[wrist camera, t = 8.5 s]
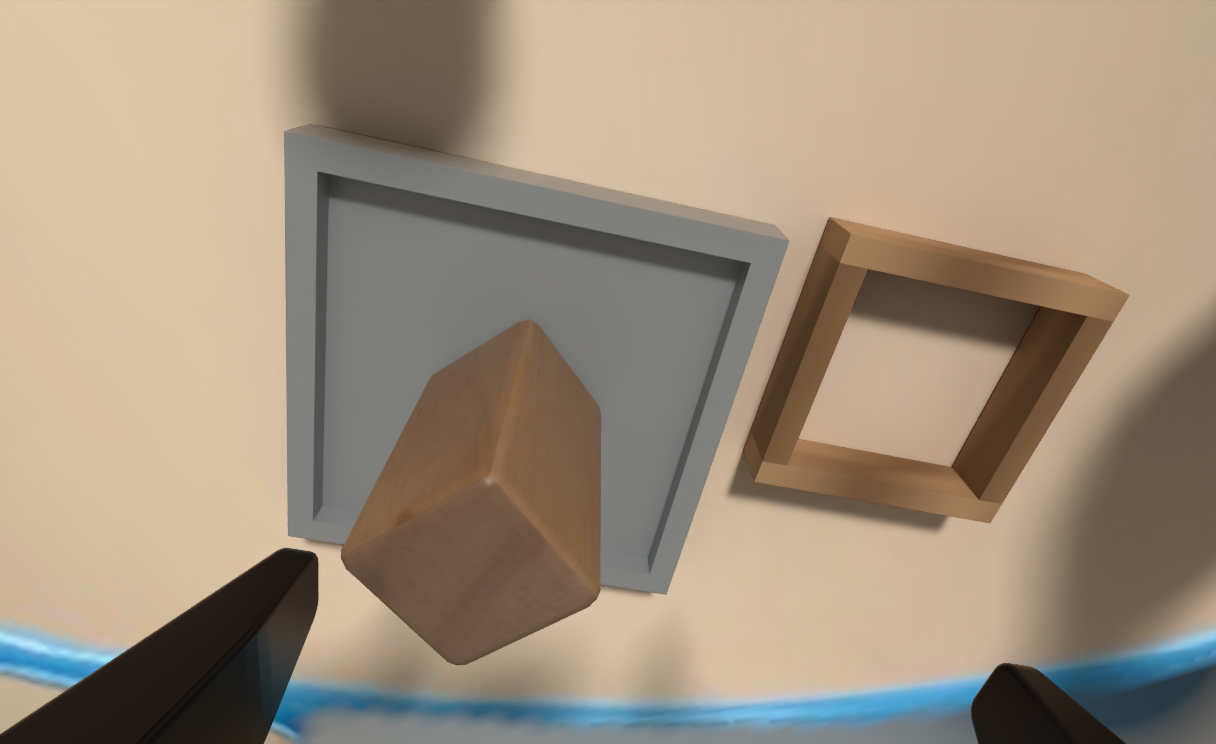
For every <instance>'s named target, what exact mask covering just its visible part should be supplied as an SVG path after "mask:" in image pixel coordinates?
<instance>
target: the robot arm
mask: <svg viewBox="0 0 1216 744" xmlns="http://www.w3.org/2000/svg"><path fill="white" fill-rule="evenodd" d="M317 606H318V558H317V555H316V554H315V553H313V552H310V551H304V550H297V549H291V548H283V549H280V550H278V551H276V552H274V553H273V554H271V555H270V556H268V557H267V558H265V559H264V560H262V561H261V562H259V563H258V564H256V565H255V566H253V567H252V568H250V569H249V570H247V571H246V572H244V573H243V574H241V575H240V576H238V577H237V578H235V579H234V580H232V581H231V582H229V583H227V584H226V585H224V586H223V587H221V588H220V589H218V590H217V591H215V592H214V593H212V594H211V595H209V596H208V597H206V598H205V599H203V600H202V601H200V602H199V603H197V604H196V605H194V606H193V607H191V608H190V609H188V610H187V611H185V612H184V613H182V614H181V615H179V616H178V617H176V618H175V619H173V620H172V621H170V622H169V623H167V624H166V625H164V626H163V627H161V628H160V629H158V630H157V631H155V632H154V633H152V634H151V635H149V636H148V637H146V638H145V639H143V640H142V641H140V642H139V643H137V644H135V645H134V646H132V647H131V648H129V649H128V650H126V651H125V652H123V653H122V654H120V655H119V656H117V657H116V658H114V659H113V660H111V661H110V662H108V663H107V664H105V665H104V666H102V667H101V668H99V669H98V670H96V671H95V672H93V673H92V674H90V675H89V676H87V677H86V678H84V679H83V680H81V681H80V682H78V683H77V684H75V685H74V686H72V687H71V688H69V689H68V690H66V691H65V692H63V693H62V694H60V695H59V696H57V697H56V698H54V699H53V700H51V701H50V702H48V703H46V704H45V705H43V706H42V707H40V708H39V709H37V710H36V711H34V712H33V713H31V714H30V715H28V716H27V717H25V718H24V719H22V720H21V721H19V722H18V723H16V724H15V725H13V726H12V727H10V728H9V729H7V730H6V731H4V732H3V733H1V734H0V744H264V742H265V740H266V737H267V735H268V732H269V730H270V728H271V725H272V723H273V720H274V718H275V715H276V713H277V710H278V708H279V705H280V703H281V700H282V698H283V695H284V693H285V690H286V688H287V685H288V683H289V680H290V678H291V675H292V673H293V670H294V668H295V665H296V663H297V660H298V658H299V655H300V653H301V650H302V648H303V645H304V643H305V640H306V638H307V635H308V633H309V630H310V628H311V625H312V623H313V620H314V617H315V614H316V611H317ZM971 718H972V722H973V726H974V729H975V733H976V737H977V740H978V744H1126V743H1125V742H1124V741H1122V740H1121V739H1120V738H1119V737H1118V736H1117V735H1115V734H1114V733H1113V732H1112V731H1110V730H1109V729H1108V728H1107V727H1106V726H1105V725H1103V724H1102V723H1101V722H1100V721H1099V720H1097V719H1096V718H1095V717H1093V715H1091V714H1090V713H1089V712H1088V711H1087V710H1085V709H1084V708H1083V707H1082V706H1081V705H1079V704H1078V703H1077V702H1076V701H1075V700H1073V699H1072V698H1071V697H1070V696H1069V695H1067V694H1066V693H1065V692H1064V691H1063V690H1061V689H1060V688H1059V687H1058V686H1057V685H1055V684H1054V683H1053V682H1052V681H1051V680H1049V679H1048V678H1047V677H1046V676H1045V675H1043V674H1042V673H1041V672H1040V671H1038V670H1037V669H1035V668H1032V667H1029V666H1023V665H1017V664H1011V663H1002V664H1000V665H998V666H997V667H996V668H995V669H994V671H993V672H992V674H991V675H990V676H989V678H988V679H987V681H986V682H985V684H984V685H983V686H982V688H981V689H980V691H979V692H978V693H977V695H976V696H975V698H974V700H973V702H972V705H971Z"/></svg>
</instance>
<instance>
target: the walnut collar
mask: <svg viewBox="0 0 1216 744" xmlns="http://www.w3.org/2000/svg"><path fill="white" fill-rule="evenodd" d="M868 269H871V270H875V271H880V272H885V273H889V274H894V275H899V276H903V277H908V278H913V279H917V280H922V281H927V282H931V283H936V284H941V285H945V286H950V287H955V288H959V289H964V290H969V291H973V292H978V293H983V294H987V295H992V296H997V297H1001V298H1006V299H1010V300H1015V301H1020V302H1024V303H1029V304H1034V305H1038V306H1041V307H1040V309H1039V311H1038V312H1037V314H1036V316H1035V318H1034V320H1033V322H1032V323H1031V325H1030V327H1029V329H1028V331H1027V332H1026V334H1025V336H1024V338H1023V340H1022V341H1021V343H1020V345H1019V347H1018V349H1017V351H1016V352H1015V354H1014V356H1013V358H1012V360H1011V361H1010V363H1009V365H1008V367H1007V369H1006V371H1005V372H1004V374H1003V376H1002V378H1001V380H1000V381H999V383H998V385H997V387H996V389H995V390H994V392H993V394H992V396H991V398H990V400H989V401H988V403H987V405H986V407H985V409H984V410H983V412H982V414H981V416H980V418H979V419H978V421H977V423H976V425H975V427H974V429H973V430H972V432H971V434H970V436H969V438H968V439H967V441H966V443H965V445H964V447H963V449H962V450H961V452H960V454H959V456H958V458H957V459H956V461H955V463H954V465H953V467H947V466H942V465H936V464H931V463H925V462H920V461H914V460H909V459H904V458H898V457H893V456H887V455H882V454H876V453H871V452H866V451H860V450H855V449H849V448H844V447H838V446H833V445H828V444H822V443H817V442H811V441H806V440H800V439H798V438H799V435H800V433H801V431H802V428H803V426H804V423H805V421H806V418H807V416H808V414H809V411H810V409H811V406H812V404H813V401H814V399H815V397H816V394H817V392H818V389H819V387H820V384H821V382H822V380H823V377H824V375H825V372H826V370H827V367H828V365H829V363H830V360H831V358H832V355H833V353H834V350H835V348H836V346H837V343H838V341H839V338H840V336H841V333H842V331H843V329H844V326H845V324H846V321H847V319H848V316H849V314H850V311H851V309H852V307H853V304H854V302H855V299H856V297H857V294H858V292H859V290H860V287H861V285H862V282H863V280H864V277H865V275H866V273H867V270H868ZM1128 297H1129V294H1126V293H1124V292H1122V291H1120V290H1118V289H1116V288H1114V287H1112V286H1110V285H1108V284H1106V283H1103V282H1101V281H1099V280H1097V279H1095V278H1093V277H1091V276H1089V275H1087V274H1083V273H1079V272H1074V271H1070V270H1065V269H1061V268H1056V267H1052V266H1047V265H1043V264H1038V263H1034V262H1029V261H1025V260H1020V259H1015V258H1011V257H1006V256H1002V255H997V254H993V253H988V252H984V251H979V250H975V249H970V248H966V247H961V246H957V245H952V244H948V243H943V242H939V241H934V240H930V239H925V238H921V237H916V236H912V235H907V234H903V233H898V232H894V231H889V230H885V229H880V228H876V227H871V226H867V225H862V224H858V223H853V222H849V221H844V220H840V219H835V218H831V217H829V220H828V223H827V226H826V228H825V231H824V234H823V236H822V239H821V242H820V245H819V247H818V250H817V253H816V255H815V258H814V261H813V263H812V266H811V269H810V272H809V274H808V277H807V280H806V282H805V285H804V288H803V290H802V293H801V296H800V299H799V301H798V304H797V307H796V309H795V312H794V315H793V318H792V320H791V323H790V326H789V328H788V331H787V334H786V336H785V339H784V342H783V345H782V347H781V350H780V353H779V355H778V358H777V361H776V363H775V366H774V369H773V372H772V374H771V377H770V380H769V382H768V385H767V388H766V391H765V393H764V396H763V399H762V401H761V404H760V407H759V409H758V412H757V415H756V418H755V420H754V423H753V426H752V428H751V431H750V434H749V436H748V439H747V442H746V445H745V447H744V453H745V456H746V459H747V461H748V464H749V467H750V470H751V473H752V476H753V479H754V482H758V483H764V484H770V485H775V486H781V487H787V488H792V489H798V490H804V491H809V492H815V493H821V494H826V495H832V496H838V497H844V498H849V499H855V500H861V501H866V502H872V503H878V504H883V505H889V506H895V507H900V508H906V509H912V510H917V511H923V512H929V513H935V514H940V515H946V516H952V517H957V518H963V519H969V520H974V521H980V522H986V523H991V521H992V519H993V518H994V516H995V514H996V513H997V511H998V510H999V508H1000V506H1001V505H1002V503H1003V501H1004V500H1005V498H1006V496H1007V495H1008V493H1009V492H1010V490H1011V488H1012V487H1013V485H1014V483H1015V482H1016V480H1017V478H1018V477H1019V475H1020V474H1021V472H1022V470H1023V469H1024V467H1025V465H1026V464H1027V462H1028V461H1029V459H1030V457H1031V456H1032V454H1033V452H1034V451H1035V449H1036V447H1037V446H1038V444H1039V443H1040V441H1041V439H1042V438H1043V436H1044V434H1045V433H1046V431H1047V429H1048V428H1049V426H1050V425H1051V423H1052V421H1053V420H1054V418H1055V416H1056V415H1057V413H1058V411H1059V410H1060V408H1061V407H1062V405H1063V403H1064V402H1065V400H1066V398H1067V397H1068V395H1069V394H1070V392H1071V390H1072V389H1073V387H1074V385H1075V384H1076V382H1077V380H1078V379H1079V377H1080V376H1081V374H1082V372H1083V371H1084V369H1085V367H1086V366H1087V364H1088V362H1089V361H1090V359H1091V358H1092V356H1093V354H1094V353H1095V351H1096V349H1097V348H1098V346H1099V344H1100V343H1101V341H1102V340H1103V338H1104V336H1105V335H1106V333H1107V331H1108V330H1109V328H1110V327H1111V325H1112V323H1113V322H1114V320H1115V318H1116V317H1117V315H1118V313H1119V312H1120V310H1121V309H1122V307H1123V305H1124V304H1125V302H1126V300H1127V299H1128Z"/></svg>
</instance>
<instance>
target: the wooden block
mask: <svg viewBox="0 0 1216 744" xmlns="http://www.w3.org/2000/svg"><path fill="white" fill-rule="evenodd" d="M600 538H601V413H600V408H599V406H598V404H597V403H596V402H595V400H594V399H593V398H592V396H591V395H590V394H589V392H588V391H587V389H586V388H585V387H584V385H583V384H582V383H581V381H580V380H579V379H578V377H577V376H576V375H575V373H574V372H573V370H572V369H571V368H570V366H569V365H568V364H567V362H566V361H565V360H564V358H563V357H562V356H561V354H560V353H559V352H558V350H557V349H556V347H555V346H554V345H553V343H552V342H551V341H550V339H549V338H548V337H547V335H546V334H545V333H544V331H543V330H542V328H541V327H540V326H539V325H538V324H537V323H535V322H534V321H533V320H531V319H529V320H525V321H520V322H518V323H516V324H515V325H513V326H511V327H510V328H508V329H507V330H505V331H503V332H502V333H500V334H498V335H497V336H495V337H494V338H492V339H490V340H489V341H487V342H485V343H484V344H482V345H480V346H479V347H477V348H476V349H474V350H472V351H471V352H469V353H467V354H466V355H464V356H463V357H461V358H459V359H458V360H456V361H454V362H453V363H451V364H449V365H448V366H446V367H445V368H443V369H441V370H440V371H438V372H436V373H435V374H433V375H432V376H431V378H430V380H429V381H428V383H427V385H426V387H425V388H424V390H423V392H422V394H421V396H420V398H419V400H418V402H417V404H416V406H415V408H414V410H413V412H412V414H411V416H410V418H409V419H408V421H407V423H406V425H405V427H404V429H403V431H402V433H401V435H400V437H399V439H398V441H397V443H396V445H395V447H394V449H393V450H392V452H391V454H390V456H389V458H388V460H387V462H386V464H385V466H384V468H383V470H382V472H381V474H380V476H379V478H378V480H377V481H376V483H375V485H374V487H373V489H372V491H371V493H370V495H369V497H368V499H367V501H366V503H365V505H364V507H363V509H362V511H361V512H360V514H359V516H358V518H357V520H356V522H355V524H354V526H353V528H352V530H351V532H350V534H349V536H348V538H347V540H346V541H345V543H344V545H343V547H342V549H341V559H342V561H343V563H344V565H345V567H346V569H347V570H348V571H349V572H350V573H351V574H352V575H354V576H355V577H356V578H357V579H358V580H359V581H360V582H361V583H362V584H363V585H364V586H366V587H367V588H368V589H369V590H370V591H371V592H372V593H373V594H374V595H375V596H376V597H378V598H379V599H380V600H381V601H382V602H383V603H384V604H385V605H386V606H387V607H388V608H389V609H391V610H392V611H393V612H394V613H395V614H396V615H397V616H398V617H399V618H400V619H401V620H403V621H404V622H405V623H406V624H407V625H408V626H409V627H410V628H411V629H412V630H413V631H414V632H416V633H417V634H418V635H419V636H420V637H421V638H422V639H423V640H424V641H425V642H426V643H428V644H429V645H430V646H431V647H432V648H433V649H434V650H435V651H436V652H437V653H438V654H440V655H441V656H442V657H443V658H444V659H445V660H446V661H447V662H449V663H452V664H455V665H466V664H468V663H470V662H472V661H475V660H477V659H479V658H481V657H483V656H485V655H487V654H489V653H492V652H494V651H496V650H498V649H500V648H502V647H504V646H507V645H509V644H511V643H513V642H515V641H517V640H519V639H521V638H524V637H526V636H528V635H530V634H532V633H534V632H536V631H538V630H541V629H543V628H545V627H547V626H549V625H551V624H553V623H555V622H558V621H560V620H562V619H564V618H566V617H568V616H570V615H572V614H575V613H577V612H579V611H581V610H583V609H585V608H587V607H589V606H590V605H591V604H592V603H593V602H594V601H595V600H596V599H597V597H598V595H599V593H600Z"/></svg>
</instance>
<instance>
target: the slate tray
mask: <svg viewBox="0 0 1216 744" xmlns="http://www.w3.org/2000/svg"><path fill="white" fill-rule="evenodd" d="M284 155H285V264H286V374H287V484H288V536H291V537H298V538H304V539H310V540H317V541H323V542H330V543H336V544H343V545H344V543H345V541H346V540H347V538H348V536H349V534H350V532H351V530H352V528H353V526H354V524H355V522H356V520H357V518H358V516H359V514H360V512H361V511H362V509H363V507H364V505H365V503H366V501H367V499H368V497H369V495H370V493H371V491H372V489H373V487H374V485H375V483H376V481H377V480H378V478H379V476H380V474H381V472H382V470H383V468H384V466H385V464H386V462H387V460H388V458H389V456H390V454H391V452H392V450H393V449H394V447H395V445H396V443H397V441H398V439H399V437H400V435H401V433H402V431H403V429H404V427H405V425H406V423H407V421H408V419H409V418H410V416H411V414H412V412H413V410H414V408H415V406H416V404H417V402H418V400H419V398H420V396H421V394H422V392H423V390H424V388H425V387H426V385H427V383H428V381H429V380H430V378H431V376H432V375H433V374H435V373H436V372H438V371H440V370H441V369H443V368H445V367H446V366H448V365H449V364H451V363H453V362H454V361H456V360H458V359H459V358H461V357H463V356H464V355H466V354H467V353H469V352H471V351H472V350H474V349H476V348H477V347H479V346H480V345H482V344H484V343H485V342H487V341H489V340H490V339H492V338H494V337H495V336H497V335H498V334H500V333H502V332H503V331H505V330H507V329H508V328H510V327H511V326H513V325H515V324H516V323H518V322H520V321H525V320H529V319H531V320H533V321H534V322H535V323H537V324H538V325H539V326H540V327H541V328H542V330H543V331H544V333H545V334H546V335H547V337H548V338H549V339H550V341H551V342H552V343H553V345H554V346H555V347H556V349H557V350H558V352H559V353H560V354H561V356H562V357H563V358H564V360H565V361H566V362H567V364H568V365H569V366H570V368H571V369H572V370H573V372H574V373H575V375H576V376H577V377H578V379H579V380H580V381H581V383H582V384H583V385H584V387H585V388H586V389H587V391H588V392H589V394H590V395H591V396H592V398H593V399H594V400H595V402H596V403H597V404H598V406H599V408H600V413H601V538H600V584H601V585H607V586H614V587H620V588H627V589H633V590H639V591H646V592H652V593H659V594H665V595H666V594H667V591H668V588H669V585H670V582H671V580H672V577H673V574H674V571H675V568H676V565H677V562H678V559H679V557H680V554H681V551H682V548H683V545H684V542H685V539H686V536H687V534H688V531H689V528H690V525H691V522H692V519H693V516H694V513H695V510H696V508H697V505H698V502H699V499H700V496H701V493H702V490H703V487H704V485H705V482H706V479H707V476H708V473H709V470H710V467H711V464H712V462H713V459H714V456H715V453H716V450H717V447H718V444H719V441H720V439H721V436H722V433H723V430H724V427H725V424H726V421H727V418H728V416H729V413H730V410H731V407H732V404H733V401H734V398H735V395H736V392H737V390H738V387H739V384H740V381H741V378H742V375H743V372H744V369H745V367H746V364H747V361H748V358H749V355H750V352H751V349H752V346H753V344H754V341H755V338H756V335H757V332H758V329H759V326H760V323H761V321H762V318H763V315H764V312H765V309H766V306H767V303H768V300H769V298H770V295H771V292H772V289H773V286H774V283H775V280H776V277H777V274H778V272H779V269H780V266H781V263H782V260H783V257H784V254H785V251H786V249H787V246H788V243H789V240H788V239H787V238H786V237H785V235H784V234H783V233H782V232H781V231H780V230H779V229H778V228H777V227H776V226H775V225H771V224H766V223H762V222H757V221H752V220H748V219H743V218H739V217H734V216H730V215H725V214H720V213H716V212H711V211H707V210H702V209H698V208H693V207H688V206H684V205H679V204H675V203H670V202H666V201H661V200H656V199H652V198H647V197H643V196H638V195H633V194H629V193H624V192H620V191H615V190H611V189H606V188H601V187H597V186H592V185H588V184H583V183H579V182H574V181H569V180H565V179H560V178H556V177H551V176H547V175H542V174H537V173H533V172H528V171H524V170H519V169H515V168H510V167H505V166H501V165H496V164H492V163H487V162H483V161H478V160H473V159H469V158H464V157H460V156H455V155H450V154H446V153H441V152H437V151H432V150H428V149H423V148H418V147H414V146H409V145H405V144H400V143H396V142H391V141H386V140H382V139H377V138H373V137H368V136H364V135H359V134H354V133H350V132H345V131H341V130H336V129H332V128H327V127H322V126H318V125H313V124H309V125H305V126H301V127H298V128H294V129H290V130H287V131H284Z"/></svg>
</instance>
